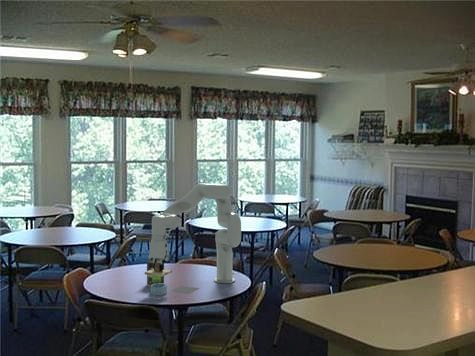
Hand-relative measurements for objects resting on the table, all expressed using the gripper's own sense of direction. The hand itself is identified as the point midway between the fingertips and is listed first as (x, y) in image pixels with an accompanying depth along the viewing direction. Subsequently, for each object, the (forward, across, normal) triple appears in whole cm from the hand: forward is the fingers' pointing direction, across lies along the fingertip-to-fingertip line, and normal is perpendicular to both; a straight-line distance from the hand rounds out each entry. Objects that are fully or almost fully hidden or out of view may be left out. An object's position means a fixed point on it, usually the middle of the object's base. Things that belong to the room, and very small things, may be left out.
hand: (158, 270), depth 314 cm
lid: (+2, 0, 0) cm, 2 cm away
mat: (+13, -10, -12) cm, 21 cm away
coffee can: (+13, +12, -15) cm, 24 cm away
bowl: (+13, 0, 0) cm, 13 cm away
